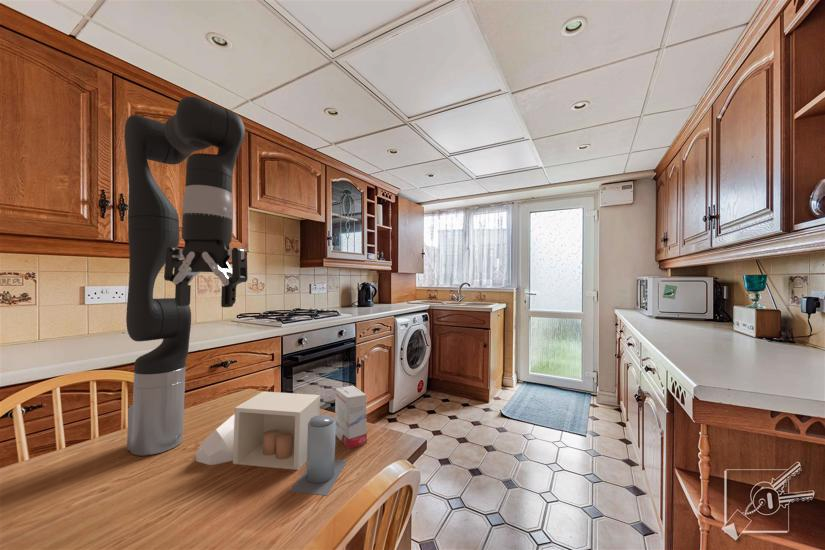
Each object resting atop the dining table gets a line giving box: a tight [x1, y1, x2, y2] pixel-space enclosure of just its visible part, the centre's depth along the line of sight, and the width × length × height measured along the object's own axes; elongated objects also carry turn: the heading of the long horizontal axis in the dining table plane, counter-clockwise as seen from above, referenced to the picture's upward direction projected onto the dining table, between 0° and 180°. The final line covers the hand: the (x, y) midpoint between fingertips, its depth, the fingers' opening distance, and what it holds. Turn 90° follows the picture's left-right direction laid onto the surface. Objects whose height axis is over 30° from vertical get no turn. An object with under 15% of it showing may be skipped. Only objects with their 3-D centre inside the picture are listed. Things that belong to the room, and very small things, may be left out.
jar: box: [306, 414, 336, 483], centre depth 62 cm, size 5×5×11 cm
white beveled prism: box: [195, 413, 235, 466], centre depth 76 cm, size 7×7×24 cm
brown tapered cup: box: [263, 430, 280, 455], centre depth 70 cm, size 3×3×4 cm
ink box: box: [334, 385, 368, 449], centre depth 77 cm, size 9×5×12 cm, turn 33°
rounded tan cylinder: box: [276, 433, 292, 459], centre depth 69 cm, size 3×3×4 cm
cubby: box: [232, 391, 321, 471], centre depth 69 cm, size 14×10×12 cm
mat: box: [288, 459, 348, 497], centre depth 62 cm, size 7×11×1 cm, turn 173°
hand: (204, 306), depth 57 cm, fingers open, 8 cm apart
